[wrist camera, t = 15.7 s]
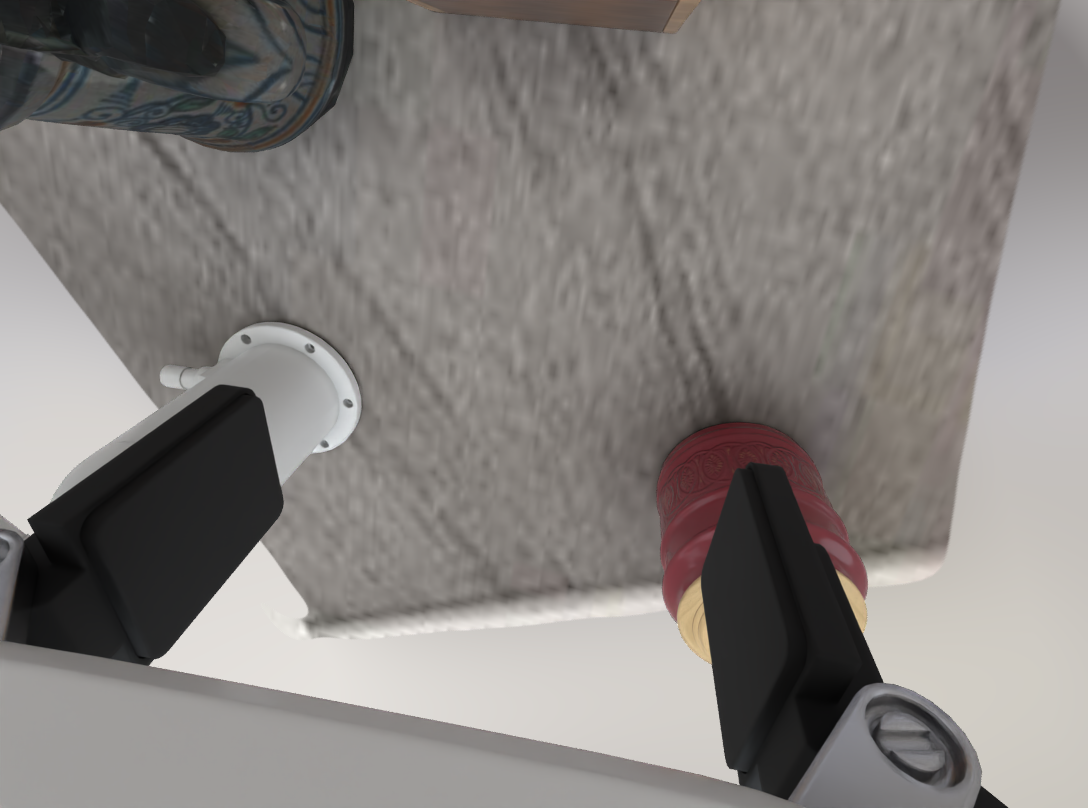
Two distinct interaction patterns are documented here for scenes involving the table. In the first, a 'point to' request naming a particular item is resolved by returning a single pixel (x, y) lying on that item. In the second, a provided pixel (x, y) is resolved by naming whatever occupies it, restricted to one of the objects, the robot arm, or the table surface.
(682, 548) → the kitchen canister
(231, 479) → the robot arm
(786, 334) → the table surface
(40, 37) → the beer stein
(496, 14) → the wooden step shelf
